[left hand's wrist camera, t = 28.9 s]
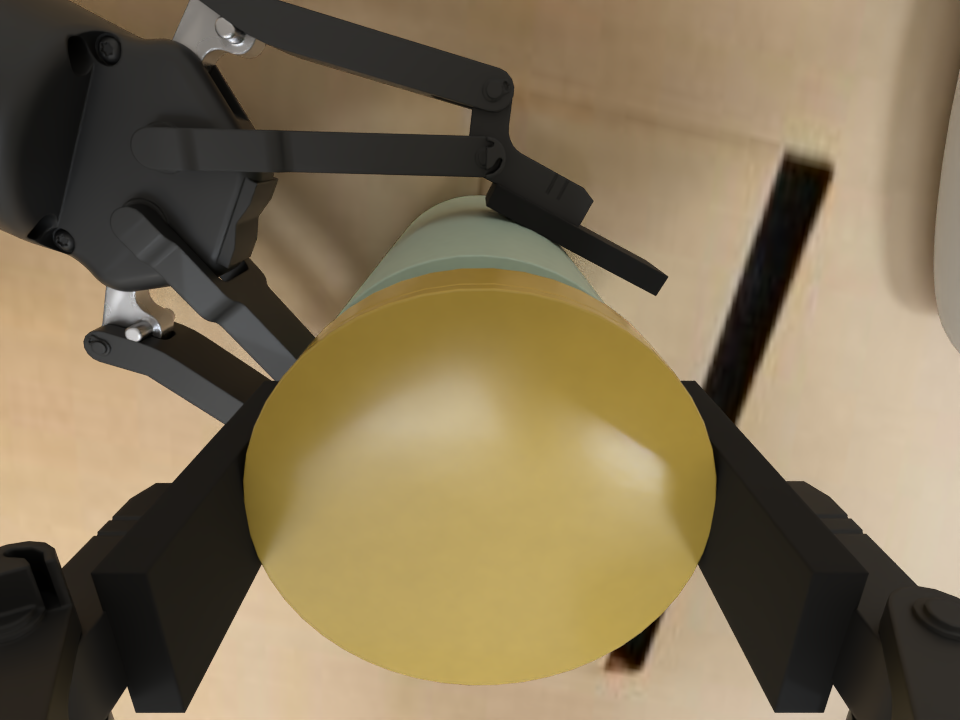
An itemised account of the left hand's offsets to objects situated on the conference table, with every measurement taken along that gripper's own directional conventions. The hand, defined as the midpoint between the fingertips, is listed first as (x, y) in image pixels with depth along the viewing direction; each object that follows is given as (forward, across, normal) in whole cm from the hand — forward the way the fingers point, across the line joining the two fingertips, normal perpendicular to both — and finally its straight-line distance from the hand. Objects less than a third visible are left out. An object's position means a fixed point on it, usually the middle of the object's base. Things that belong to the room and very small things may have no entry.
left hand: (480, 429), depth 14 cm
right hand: (+7, -4, +2) cm, 9 cm away
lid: (-3, 0, 0) cm, 3 cm away
